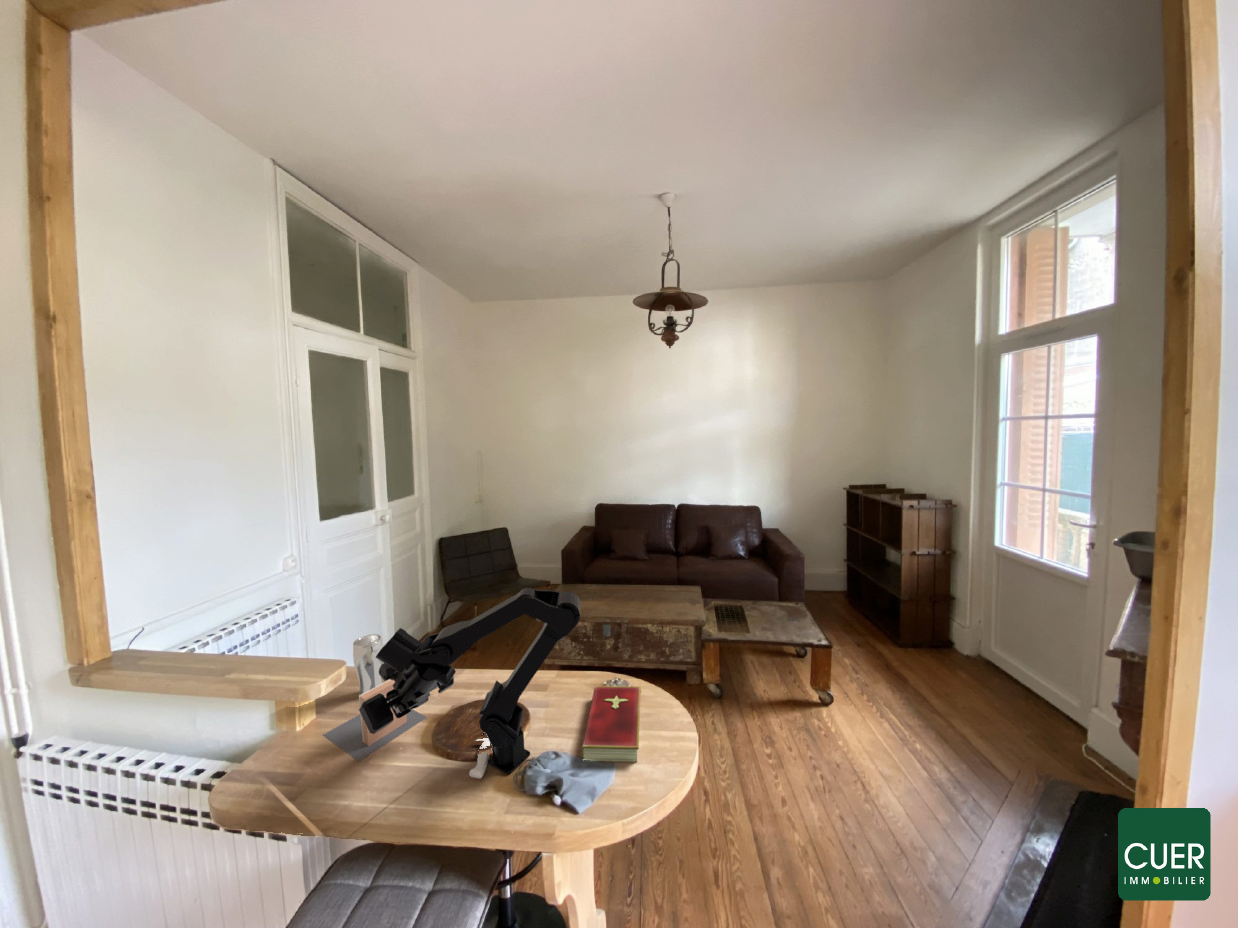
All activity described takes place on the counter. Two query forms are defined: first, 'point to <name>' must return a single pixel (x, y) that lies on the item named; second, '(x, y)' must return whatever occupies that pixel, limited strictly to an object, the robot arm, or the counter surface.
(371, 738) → the tile
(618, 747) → the hardcover book
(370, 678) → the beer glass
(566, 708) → the counter surface
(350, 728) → the mat
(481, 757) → the knife
